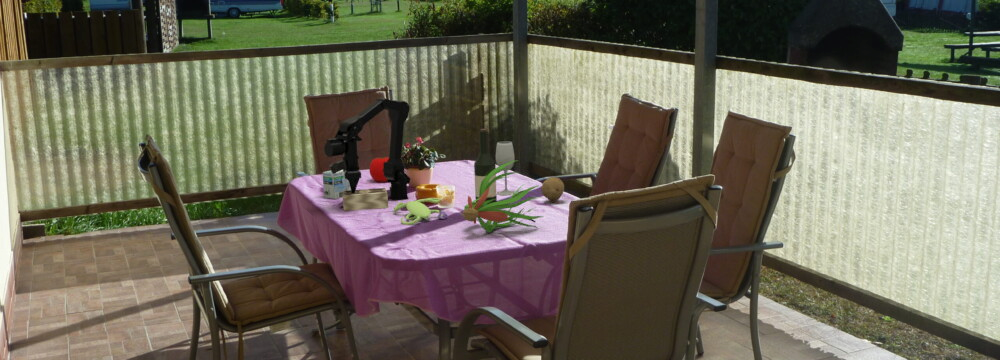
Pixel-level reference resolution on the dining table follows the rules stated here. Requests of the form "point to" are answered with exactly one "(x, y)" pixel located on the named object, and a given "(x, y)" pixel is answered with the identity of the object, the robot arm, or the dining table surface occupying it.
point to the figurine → (419, 210)
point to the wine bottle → (484, 167)
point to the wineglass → (505, 160)
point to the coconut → (552, 189)
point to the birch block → (365, 199)
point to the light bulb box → (335, 184)
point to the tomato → (378, 169)
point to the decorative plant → (496, 205)
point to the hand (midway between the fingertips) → (353, 192)
